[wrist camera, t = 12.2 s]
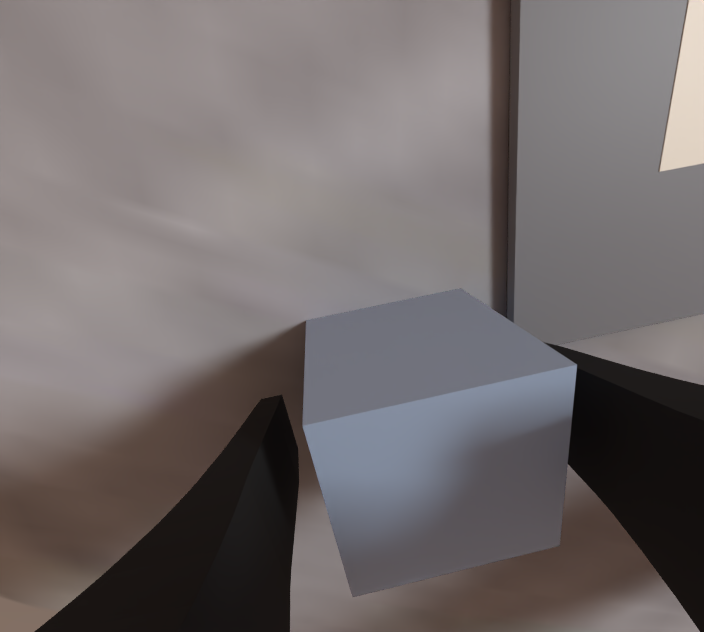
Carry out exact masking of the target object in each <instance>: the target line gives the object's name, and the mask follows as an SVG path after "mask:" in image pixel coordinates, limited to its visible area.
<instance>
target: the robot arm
mask: <svg viewBox="0 0 704 632" xmlns="http://www.w3.org/2000/svg"><path fill="white" fill-rule="evenodd" d="M543 343H545V342H543ZM545 344H546V345H548V346H549V347H551V348H552V349H554V350H555V351H557V352H559V353H560V354H562V355H563V356H565V357H566V358H568V359H569V360H571V361H572V362H574V363H575V364H577V371H576V382H575V392H574V402H573V413H572V423H571V434H570V444H569V454H568V464H569V465H570V467H571V468H572V469H573V470H574V471H575V472H576V473H577V474H578V475H579V476H580V477H581V478H582V479H583V481H584V482H585V483H586V484H587V485H588V486H589V487H590V488H591V489H592V490H593V491H594V492H595V493H596V495H597V496H598V497H599V498H600V499H601V500H602V501H603V503H604V504H605V505H606V506H607V507H608V508H609V510H610V511H611V512H612V513H613V514H614V516H615V517H616V518H617V520H618V521H619V522H620V523H621V525H622V526H623V527H624V529H625V530H626V531H627V532H628V534H629V535H630V536H631V538H632V539H633V540H634V541H635V543H636V544H637V545H638V547H639V548H640V549H641V550H642V552H643V553H644V554H645V556H646V557H647V558H648V560H649V561H650V563H651V564H652V565H653V567H654V568H655V569H656V571H657V572H658V573H659V575H660V576H661V577H662V579H663V580H664V581H665V583H666V584H667V586H668V587H669V588H670V590H671V591H672V592H673V594H674V595H675V596H676V598H677V599H678V601H679V602H680V603H681V605H682V606H683V608H684V609H685V611H686V612H687V613H688V615H689V616H690V618H691V619H692V621H693V622H694V624H695V625H696V626H697V628H698V629H699V631H700V632H704V385H699V384H695V383H691V382H686V381H682V380H678V379H674V378H670V377H666V376H662V375H659V374H655V373H651V372H647V371H643V370H640V369H636V368H632V367H629V366H625V365H622V364H618V363H615V362H611V361H608V360H605V359H601V358H598V357H595V356H591V355H588V354H585V353H581V352H578V351H574V350H571V349H568V348H564V347H560V346H557V345H553V344H549V343H545ZM298 487H299V464H298V447H297V444H296V440H295V437H294V434H293V430H292V427H291V424H290V420H289V417H288V413H287V410H286V407H285V403H284V400H283V397H282V395H279V396H274V397H269V398H264V399H261V400H260V402H259V403H258V404H257V405H256V407H255V408H254V410H253V411H252V412H251V414H250V415H249V416H248V418H247V419H246V421H245V422H244V423H243V425H242V426H241V428H240V429H239V430H238V432H237V433H236V434H235V436H234V437H233V438H232V440H231V441H230V442H229V444H228V445H227V446H226V448H225V449H224V450H223V451H222V453H221V454H220V455H219V456H218V458H217V459H216V460H215V461H214V462H213V464H212V465H211V466H210V467H209V468H208V470H207V471H206V472H205V473H204V474H203V476H202V477H201V478H200V479H199V480H198V482H197V483H196V484H195V485H194V486H193V487H192V488H191V490H190V491H189V492H188V493H187V494H186V495H185V496H184V497H183V498H182V499H181V500H180V502H179V503H178V504H177V505H176V506H175V507H174V508H173V509H172V510H171V511H170V512H169V513H168V514H167V515H166V516H165V517H164V518H163V519H162V520H161V521H160V522H159V523H158V524H157V525H156V526H155V527H154V528H153V529H152V530H151V531H150V532H149V533H148V534H147V535H146V536H144V537H143V538H142V539H141V540H140V541H139V542H138V543H137V544H136V545H135V546H134V547H133V548H132V549H130V550H129V551H128V552H127V553H126V554H125V555H124V556H123V557H122V558H121V559H120V560H119V561H118V562H116V563H115V564H114V565H113V566H112V567H111V568H110V569H109V570H108V571H107V572H106V573H104V574H103V575H102V576H101V577H100V578H99V579H97V580H96V581H95V582H94V583H93V584H92V585H90V586H89V587H88V588H87V589H86V590H85V591H83V592H82V593H81V594H80V595H79V596H78V597H76V598H75V599H74V600H73V601H72V602H70V603H69V604H68V605H67V606H65V607H64V608H63V609H62V610H61V611H59V612H58V613H57V614H56V615H55V616H54V617H52V618H51V619H50V620H48V621H47V622H46V623H45V624H44V625H42V626H41V627H40V628H39V629H37V630H36V631H35V632H290V581H291V565H292V554H293V543H294V532H295V521H296V511H297V499H298Z"/></svg>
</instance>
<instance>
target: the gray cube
mask: <svg viewBox="0 0 704 632" xmlns="http://www.w3.org/2000/svg"><path fill="white" fill-rule="evenodd" d="M576 371H577V364H575V363H574V362H572V361H571V360H569V359H568V358H566V357H565V356H563V355H562V354H560V353H559V352H557V351H555V350H554V349H552V348H551V347H549V346H548V345H546V344H545V343H543V342H542V341H540V340H539V339H537V338H536V337H534V336H533V335H531V334H530V333H528V332H527V331H525V330H524V329H522V328H520V327H519V326H517V325H516V324H514V323H513V322H511V321H510V320H508V319H507V318H505V317H504V316H502V315H501V314H499V313H498V312H496V311H495V310H493V309H492V308H490V307H488V306H487V305H485V304H484V303H482V302H481V301H479V300H478V299H476V298H475V297H473V296H472V295H470V294H469V293H467V292H466V291H464V290H463V289H461V288H460V289H455V290H450V291H445V292H441V293H436V294H431V295H426V296H421V297H417V298H412V299H407V300H402V301H397V302H393V303H388V304H383V305H378V306H373V307H369V308H364V309H359V310H354V311H349V312H345V313H340V314H335V315H330V316H325V317H321V318H316V319H311V320H306V339H305V367H304V396H303V425H302V426H303V430H304V433H305V436H306V440H307V443H308V447H309V450H310V453H311V457H312V460H313V464H314V467H315V470H316V474H317V477H318V481H319V484H320V488H321V491H322V494H323V498H324V501H325V505H326V508H327V511H328V515H329V518H330V522H331V525H332V529H333V532H334V535H335V539H336V542H337V546H338V549H339V552H340V556H341V559H342V563H343V566H344V570H345V573H346V576H347V580H348V583H349V587H350V590H351V593H352V597H356V596H360V595H364V594H368V593H372V592H376V591H380V590H384V589H388V588H392V587H396V586H401V585H405V584H409V583H413V582H417V581H421V580H425V579H429V578H433V577H437V576H441V575H445V574H449V573H453V572H457V571H461V570H465V569H469V568H473V567H477V566H481V565H485V564H489V563H493V562H497V561H501V560H505V559H509V558H513V557H517V556H521V555H525V554H529V553H533V552H537V551H541V550H545V549H549V548H553V547H558V546H560V538H561V527H562V517H563V506H564V496H565V486H566V475H567V465H568V454H569V444H570V434H571V423H572V413H573V402H574V392H575V382H576Z"/></svg>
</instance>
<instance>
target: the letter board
mask: <svg viewBox="0 0 704 632" xmlns="http://www.w3.org/2000/svg"><path fill="white" fill-rule="evenodd" d="M701 314H704V0H511V36H510V115H509V193H508V272H507V319H508V320H510V321H511V322H513V323H514V324H516V325H517V326H519V327H520V328H522V329H524V330H525V331H527V332H528V333H530V334H531V335H533V336H534V337H536V338H537V339H539V340H540V341H542V342H545V343H549V344H553V345H558V344H563V343H568V342H573V341H577V340H582V339H587V338H592V337H596V336H601V335H606V334H611V333H615V332H620V331H625V330H629V329H634V328H639V327H644V326H648V325H653V324H658V323H663V322H667V321H672V320H677V319H682V318H686V317H691V316H696V315H701Z"/></svg>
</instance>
